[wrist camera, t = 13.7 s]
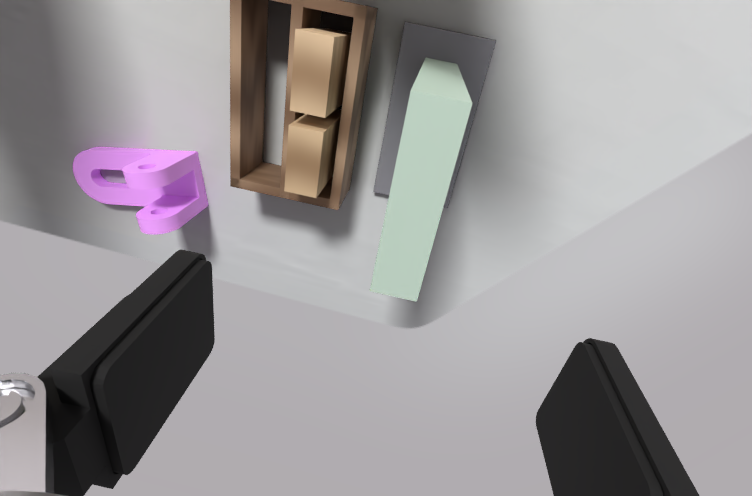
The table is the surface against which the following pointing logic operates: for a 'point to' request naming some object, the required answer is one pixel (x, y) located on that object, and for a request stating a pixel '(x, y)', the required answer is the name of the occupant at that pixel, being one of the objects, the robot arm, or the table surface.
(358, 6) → the walnut rack
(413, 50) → the charcoal mat
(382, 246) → the green board
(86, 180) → the bracket
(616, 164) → the table surface
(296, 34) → the oak offcut
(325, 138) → the oak offcut
